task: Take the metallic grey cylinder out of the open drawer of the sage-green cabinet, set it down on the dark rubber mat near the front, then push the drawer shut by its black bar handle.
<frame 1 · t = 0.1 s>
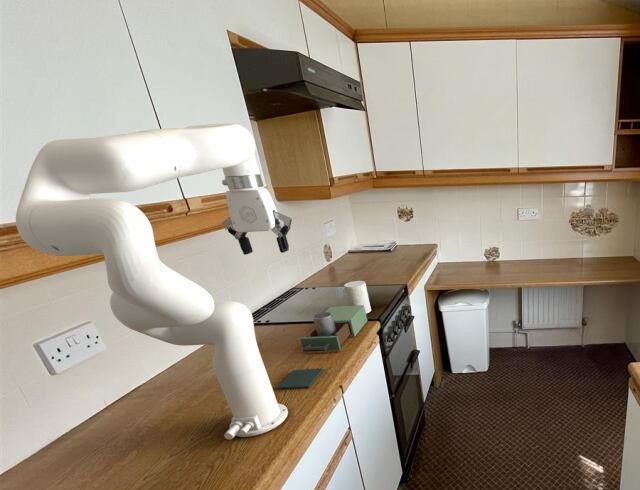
hand: (266, 252, 107), 37 cm above the counter, tool pointing down, fingers open, 9 cm apart
drawer: (325, 338, 137), point 3 cm above the counter, slide at 11.0 cm, touching metallic grey cylinder
mat: (301, 379, 119), on the counter
cabinet: (344, 329, 152), on the counter
cup: (361, 312, 168), on the counter
metallic grey cylinder: (328, 339, 139), point 2 cm above the counter, touching drawer
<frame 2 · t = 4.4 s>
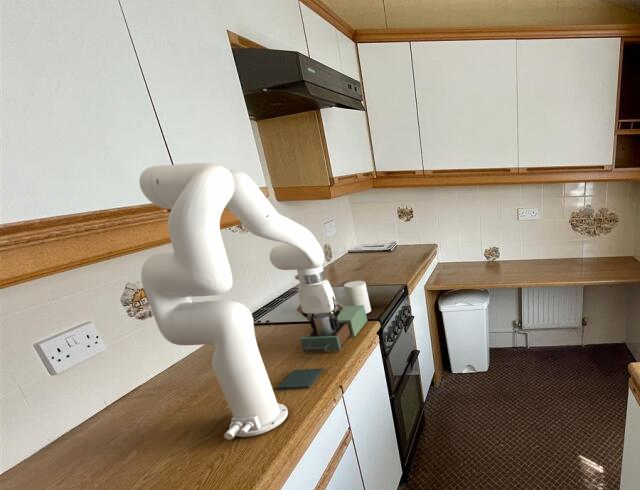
hand: (326, 328, 137), 6 cm above the counter, tool pointing down, fingers closed on metallic grey cylinder, 6 cm apart
metallic grey cylinder: (328, 339, 139), point 2 cm above the counter, touching drawer, gripper
everything else where it was.
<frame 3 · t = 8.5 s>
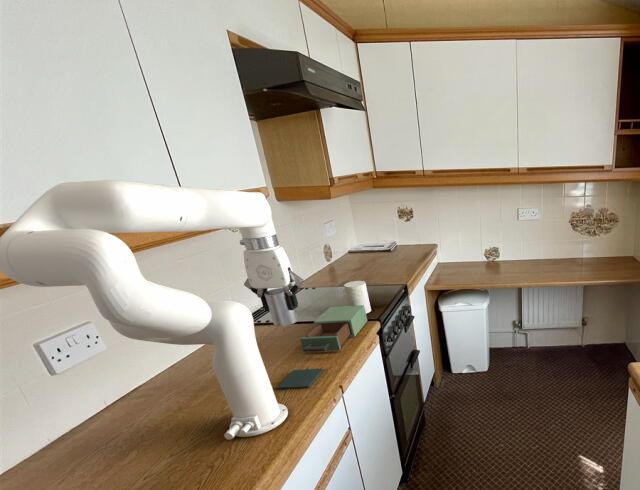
hand: (281, 308, 111), 22 cm above the counter, tool pointing down, fingers closed on metallic grey cylinder, 6 cm apart
drawer: (325, 338, 137), point 3 cm above the counter, slide at 11.0 cm
metallic grey cylinder: (286, 322, 113), point 18 cm above the counter, touching gripper
everything else where it was.
when the fingers open (5 cm above the counter, at t = 12.9 s): metallic grey cylinder stays where it is, resting on mat.
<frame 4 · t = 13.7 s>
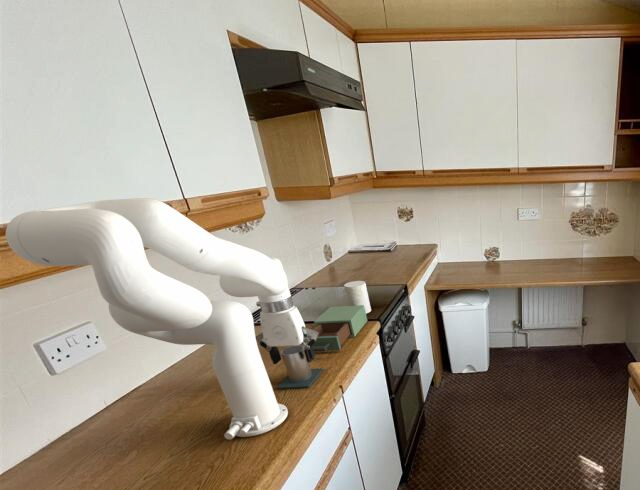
hand: (294, 361, 116), 6 cm above the counter, tool pointing down, fingers open, 9 cm apart
metallic grey cylinder: (301, 377, 119), point 1 cm above the counter, touching mat
everything else where it was.
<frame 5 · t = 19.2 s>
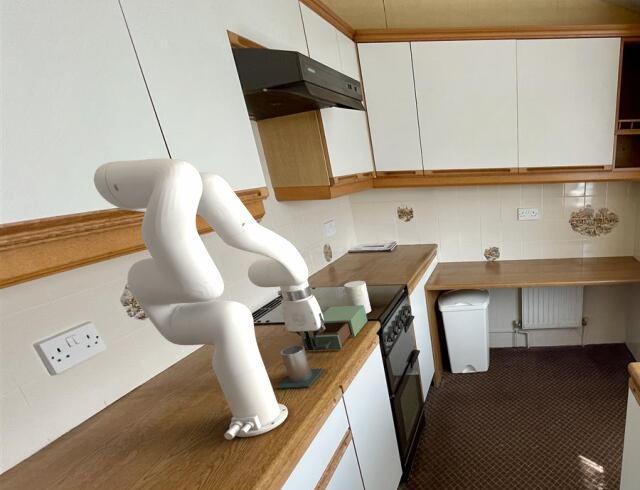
hand: (313, 348, 128), 4 cm above the counter, tool pointing down, fingers closed
drawer: (326, 337, 138), point 3 cm above the counter, slide at 10.0 cm, touching gripper
everything else where it was.
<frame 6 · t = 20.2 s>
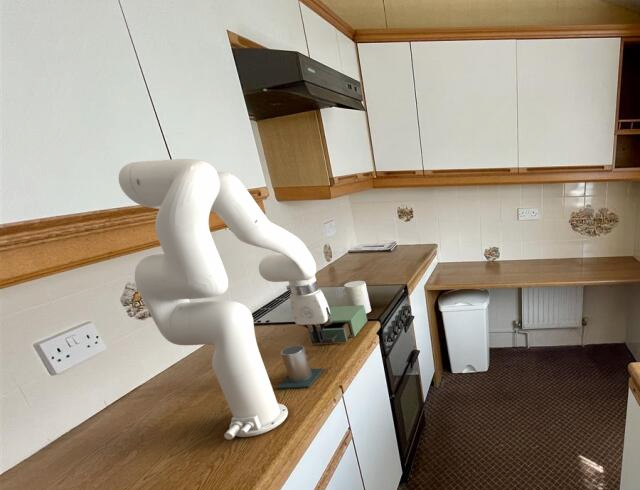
hand: (320, 340, 133), 4 cm above the counter, tool pointing down, fingers closed
drawer: (332, 331, 142), point 3 cm above the counter, slide at 4.7 cm, touching gripper
everything else where it was.
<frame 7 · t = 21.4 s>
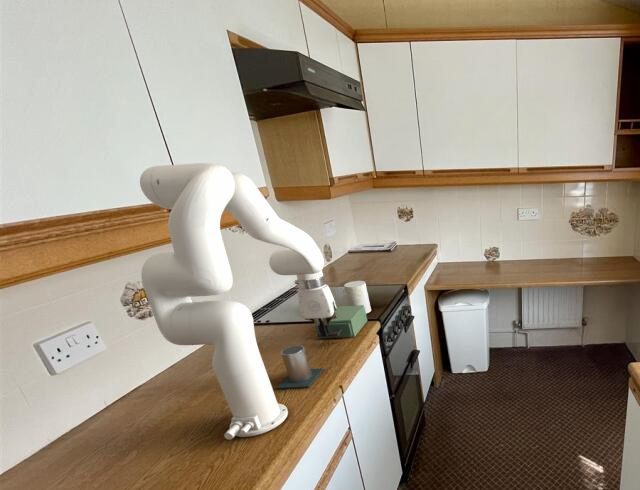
hand: (326, 334, 137), 4 cm above the counter, tool pointing down, fingers closed
drawer: (337, 325, 147), point 3 cm above the counter, slide at 0.0 cm, touching cabinet, gripper
everything else where it was.
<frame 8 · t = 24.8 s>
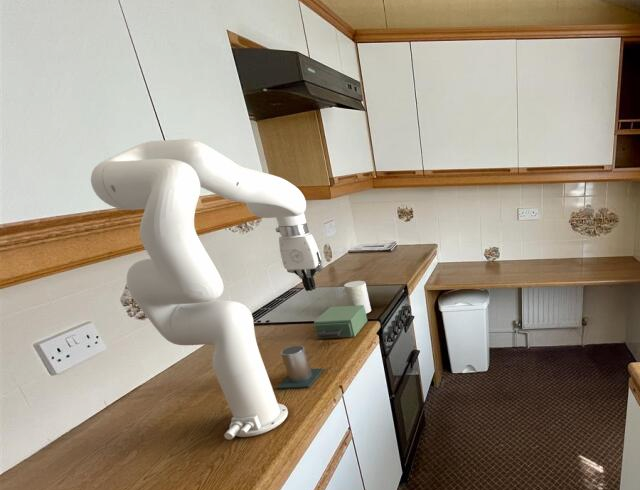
hand: (310, 289, 128), 21 cm above the counter, tool pointing down, fingers closed
drawer: (337, 325, 147), point 3 cm above the counter, slide at 0.0 cm, touching cabinet
everything else where it was.
at the end: metallic grey cylinder inside the target area on the mat (0.3 cm from its centre), point 0.6 cm above the mat's base; metallic grey cylinder tilted 0°; drawer slide at 0.0 cm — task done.
